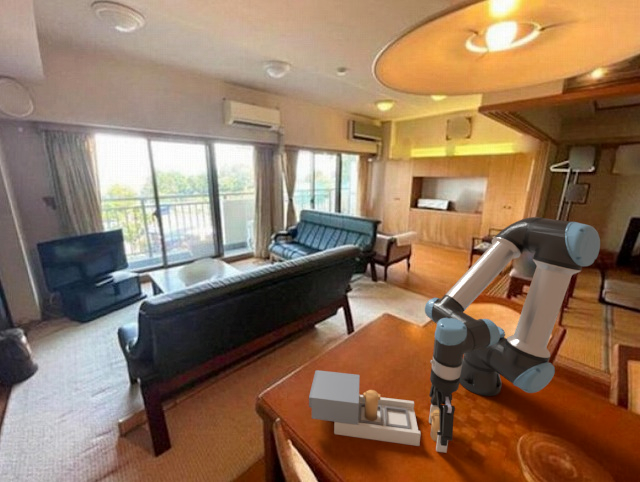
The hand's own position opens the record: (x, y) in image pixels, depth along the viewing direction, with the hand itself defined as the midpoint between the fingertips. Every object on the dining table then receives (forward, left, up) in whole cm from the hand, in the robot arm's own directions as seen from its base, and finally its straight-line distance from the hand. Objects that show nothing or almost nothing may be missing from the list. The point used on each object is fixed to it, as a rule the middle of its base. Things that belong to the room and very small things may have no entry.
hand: (437, 435), depth 85 cm
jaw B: (0, 0, 0) cm, 0 cm away
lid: (+31, -2, +4) cm, 32 cm away
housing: (+18, -2, 0) cm, 19 cm away
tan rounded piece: (+20, -2, +2) cm, 20 cm away
